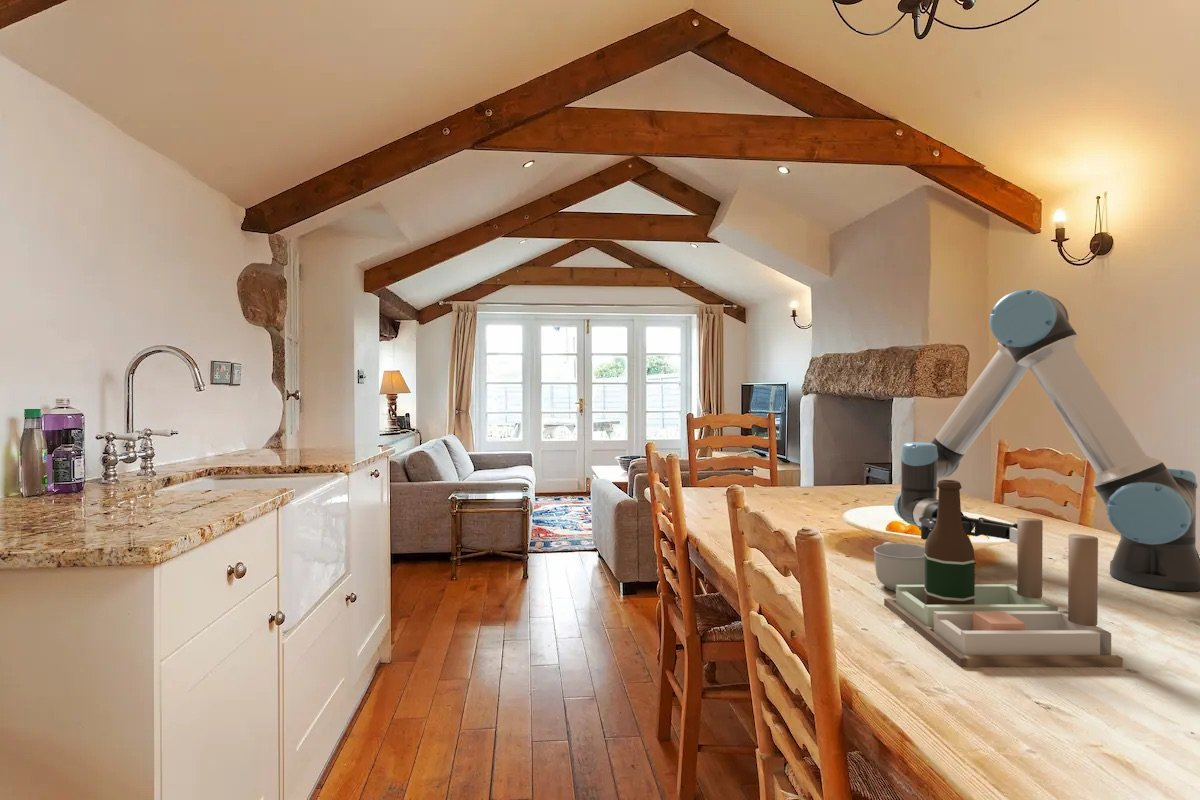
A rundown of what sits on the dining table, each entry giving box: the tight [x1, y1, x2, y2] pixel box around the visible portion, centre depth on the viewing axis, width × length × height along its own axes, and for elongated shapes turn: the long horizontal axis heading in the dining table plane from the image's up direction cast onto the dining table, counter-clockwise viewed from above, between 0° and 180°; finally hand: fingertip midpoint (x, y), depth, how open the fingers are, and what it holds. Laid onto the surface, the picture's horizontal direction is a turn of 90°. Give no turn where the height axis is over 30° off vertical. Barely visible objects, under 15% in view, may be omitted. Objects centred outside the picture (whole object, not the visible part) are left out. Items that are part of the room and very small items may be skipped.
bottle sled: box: [895, 517, 1059, 627], centre depth 112 cm, size 22×12×17 cm, turn 89°
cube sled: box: [934, 533, 1112, 655], centre depth 100 cm, size 22×9×17 cm, turn 89°
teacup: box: [873, 541, 925, 592], centre depth 131 cm, size 14×11×8 cm
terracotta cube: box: [973, 612, 1025, 631], centre depth 100 cm, size 5×5×5 cm
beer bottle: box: [924, 479, 976, 605], centre depth 112 cm, size 8×8×24 cm
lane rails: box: [883, 597, 1124, 668], centre depth 107 cm, size 23×26×1 cm
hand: (995, 542), depth 122 cm, fingers open, 13 cm apart
